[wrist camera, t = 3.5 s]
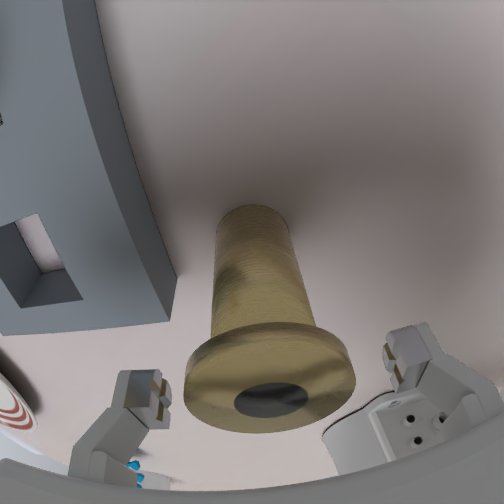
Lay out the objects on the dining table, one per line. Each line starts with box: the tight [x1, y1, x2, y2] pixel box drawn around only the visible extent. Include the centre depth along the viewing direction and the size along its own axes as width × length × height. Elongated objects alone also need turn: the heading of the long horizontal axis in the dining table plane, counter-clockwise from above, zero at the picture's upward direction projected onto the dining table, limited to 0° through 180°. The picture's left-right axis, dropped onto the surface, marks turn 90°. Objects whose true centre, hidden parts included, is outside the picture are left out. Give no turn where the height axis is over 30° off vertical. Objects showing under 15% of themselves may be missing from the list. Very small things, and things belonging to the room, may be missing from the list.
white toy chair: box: [134, 470, 171, 490], centre depth 42 cm, size 9×9×12 cm
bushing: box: [184, 205, 356, 433], centre depth 13 cm, size 6×6×10 cm
